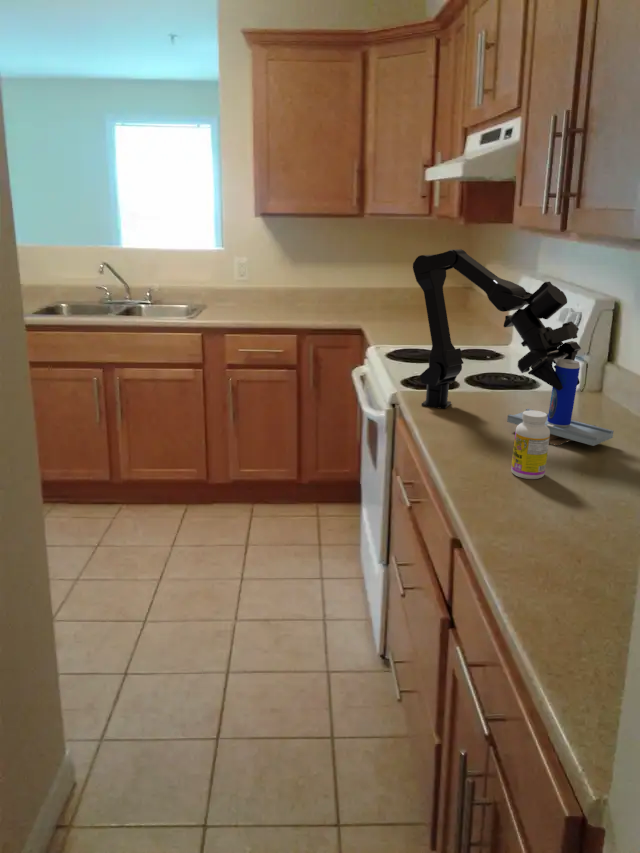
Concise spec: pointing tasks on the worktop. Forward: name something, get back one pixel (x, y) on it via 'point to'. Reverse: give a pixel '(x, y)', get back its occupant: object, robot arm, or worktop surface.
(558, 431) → the beam
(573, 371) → the beverage can
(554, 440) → the fulcrum
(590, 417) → the worktop surface
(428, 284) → the robot arm
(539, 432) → the supplement bottle
